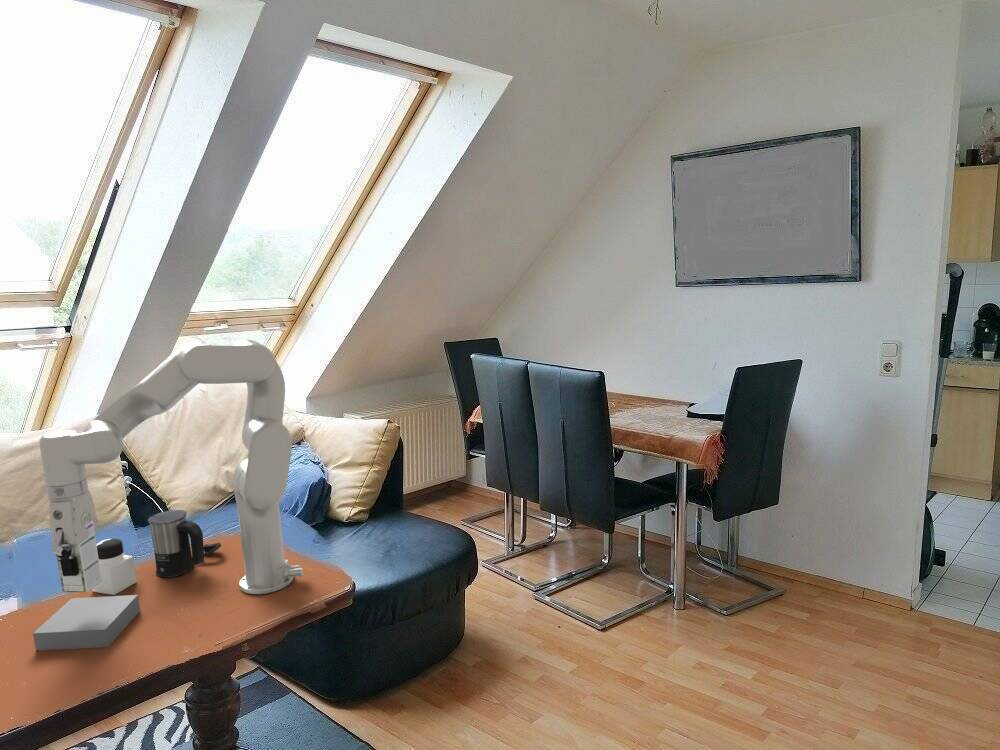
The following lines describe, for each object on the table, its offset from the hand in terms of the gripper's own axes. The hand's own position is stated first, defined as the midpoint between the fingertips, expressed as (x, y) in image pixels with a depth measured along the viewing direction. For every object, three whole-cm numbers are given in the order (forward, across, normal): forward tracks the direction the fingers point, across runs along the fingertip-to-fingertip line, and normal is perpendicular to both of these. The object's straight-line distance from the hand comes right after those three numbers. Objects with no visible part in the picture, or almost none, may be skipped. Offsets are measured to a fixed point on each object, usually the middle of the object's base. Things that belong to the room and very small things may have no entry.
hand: (79, 567), depth 159 cm
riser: (+15, 0, 0) cm, 15 cm away
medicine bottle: (+15, +21, +4) cm, 26 cm away
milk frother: (+15, +32, -10) cm, 37 cm away
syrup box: (+5, 0, 0) cm, 5 cm away
